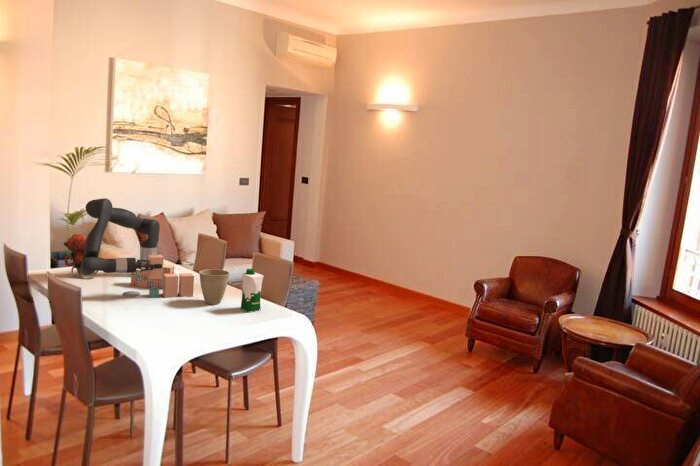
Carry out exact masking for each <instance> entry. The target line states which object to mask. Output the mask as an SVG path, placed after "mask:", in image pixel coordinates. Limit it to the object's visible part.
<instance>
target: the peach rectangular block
mask: <svg viewBox="0 0 700 466" xmlns="http://www.w3.org/2000/svg"><path fill="white" fill-rule="evenodd" d="M194 283H195V275H194V274H193V273H191V272H183V273H182V272H181V273H179V276H178V296H179V297H181V298H185V297H186V298H187V297H193V296H194V285H195V284H194Z"/></svg>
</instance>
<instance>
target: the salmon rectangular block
mask: <svg viewBox="0 0 700 466" xmlns="http://www.w3.org/2000/svg"><path fill="white" fill-rule="evenodd" d="M178 290H179V276H178V274H177V273H174V274H164V276H163V289H162V296H163V297H164V298H165V299H166V298H167V299H168V298H178V296H179V294H178Z"/></svg>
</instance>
